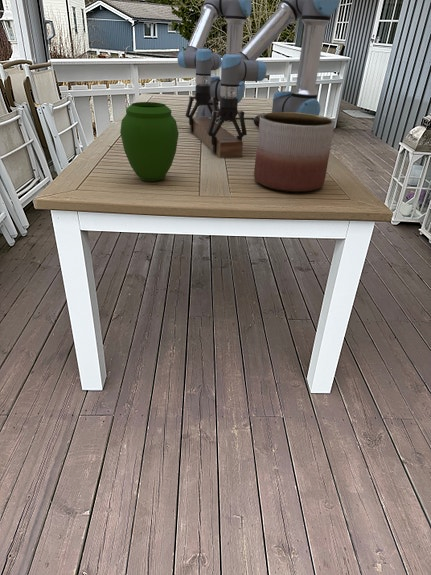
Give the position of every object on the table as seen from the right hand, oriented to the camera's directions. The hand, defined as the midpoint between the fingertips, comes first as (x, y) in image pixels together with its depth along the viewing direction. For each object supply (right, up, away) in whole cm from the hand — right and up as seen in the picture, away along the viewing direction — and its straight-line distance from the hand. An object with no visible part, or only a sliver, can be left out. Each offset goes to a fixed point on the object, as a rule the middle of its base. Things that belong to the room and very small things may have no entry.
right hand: (225, 151), depth 182 cm
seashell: (+21, +31, +51) cm, 63 cm away
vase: (-28, -21, -35) cm, 49 cm away
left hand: (-12, +22, +34) cm, 42 cm away
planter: (+22, -22, -33) cm, 45 cm away
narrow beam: (-6, +11, +17) cm, 21 cm away
